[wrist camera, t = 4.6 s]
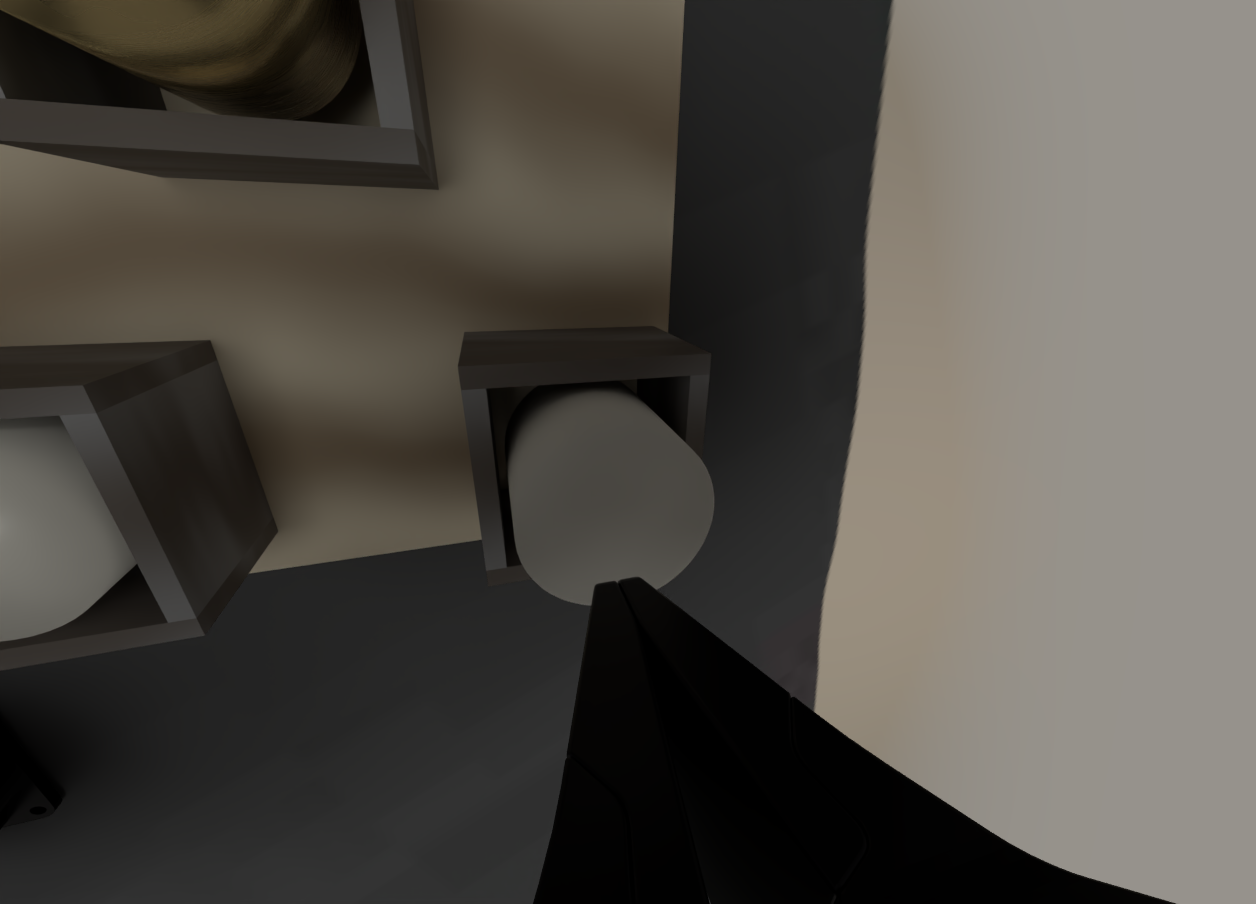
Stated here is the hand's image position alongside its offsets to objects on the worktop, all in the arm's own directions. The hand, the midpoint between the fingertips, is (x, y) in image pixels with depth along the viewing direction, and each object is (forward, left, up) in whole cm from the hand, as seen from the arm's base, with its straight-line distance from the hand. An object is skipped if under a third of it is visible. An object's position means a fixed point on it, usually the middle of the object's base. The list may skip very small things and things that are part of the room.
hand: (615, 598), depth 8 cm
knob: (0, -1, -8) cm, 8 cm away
